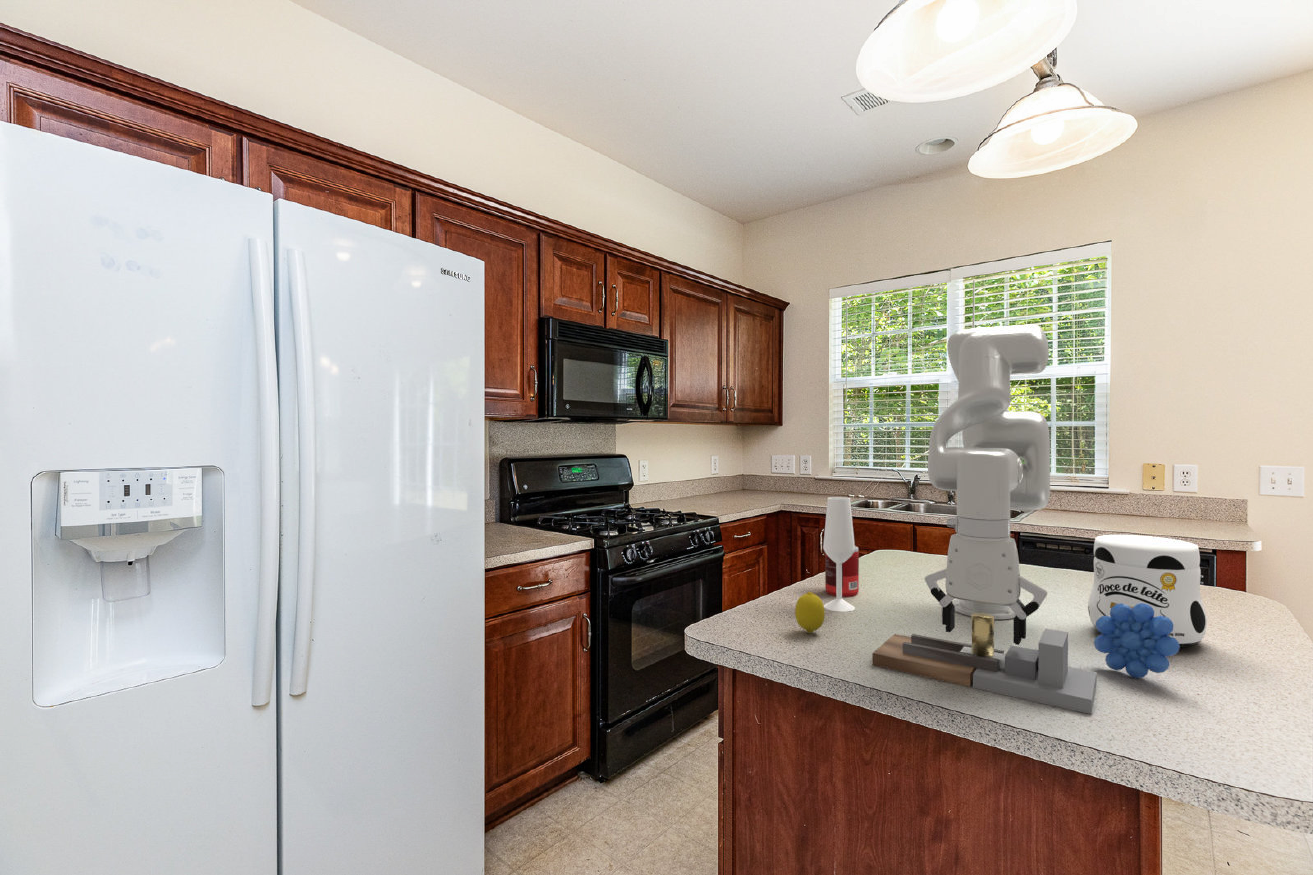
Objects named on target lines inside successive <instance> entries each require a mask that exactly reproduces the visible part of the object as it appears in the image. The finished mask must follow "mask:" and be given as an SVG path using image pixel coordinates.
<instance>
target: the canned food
mask: <svg viewBox="0 0 1313 875" xmlns="http://www.w3.org/2000/svg"><path fill="white" fill-rule="evenodd" d="M859 553H860V552H859V547H858V546H856V545H855V551H854V553H853V554H852V556H851V557H850V558H849V559H848V560H846V561H845V562H844V563H842V598H850V597H855V596H857V595H858V594H859V590H860V587H859V586H860V585H859V581H860V580H859V579H860V574H859V572H860V571H859V566H860V565H859V559H860V557H859V556H860V554H859ZM824 563H825V564H824V570H825V571H824V576H825V578H824V580H825V582H824V583H825V585H824V586H825V587H824V588H825V592H826V593H827V594H828V595H831V596H833V597H836V563H835V562H834V561H832V559H831V558H830V557H829V556H828V555H827V554H826V553H825V552H824Z"/></svg>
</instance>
